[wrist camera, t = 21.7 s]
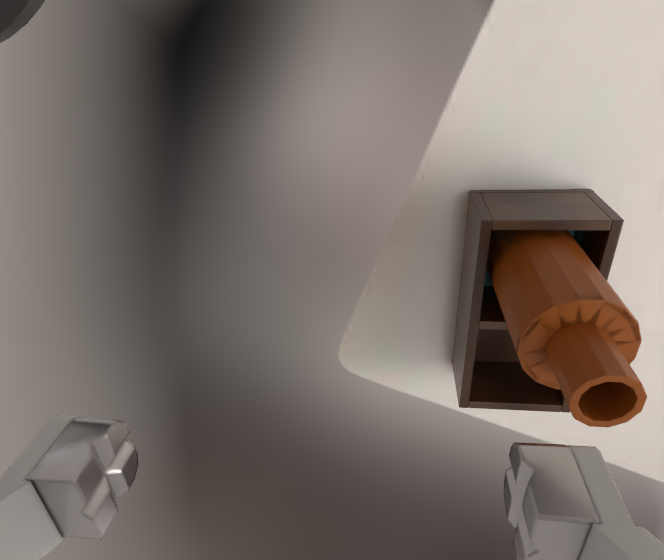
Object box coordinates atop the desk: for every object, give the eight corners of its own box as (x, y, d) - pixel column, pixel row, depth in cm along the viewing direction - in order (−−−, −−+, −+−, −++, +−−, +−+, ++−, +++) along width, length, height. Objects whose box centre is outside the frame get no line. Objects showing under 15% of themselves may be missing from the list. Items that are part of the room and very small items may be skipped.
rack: (451, 362, 42) (459, 407, 38) (469, 190, 34) (481, 220, 30) (550, 366, 41) (570, 412, 37) (592, 189, 33) (624, 220, 29)
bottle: (478, 280, 37) (527, 443, 23) (488, 208, 34) (551, 347, 20) (558, 282, 36) (657, 451, 23) (575, 209, 33) (702, 353, 20)
